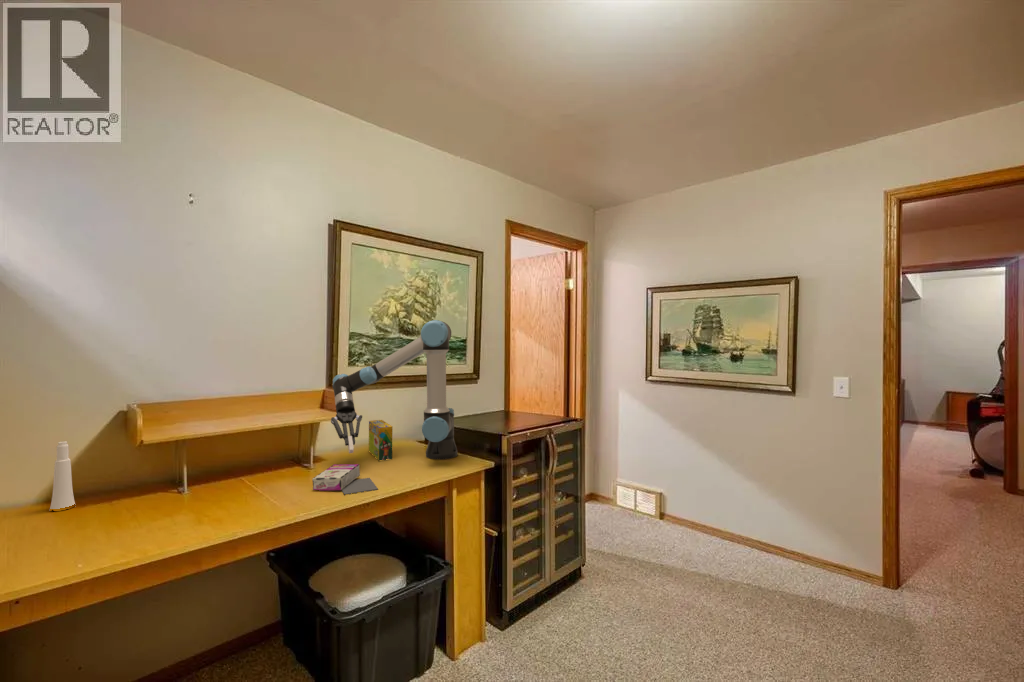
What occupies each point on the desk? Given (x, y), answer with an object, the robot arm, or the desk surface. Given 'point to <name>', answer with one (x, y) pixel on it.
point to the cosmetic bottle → (62, 479)
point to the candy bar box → (336, 477)
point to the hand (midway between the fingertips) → (351, 451)
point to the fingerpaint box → (380, 439)
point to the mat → (359, 486)
